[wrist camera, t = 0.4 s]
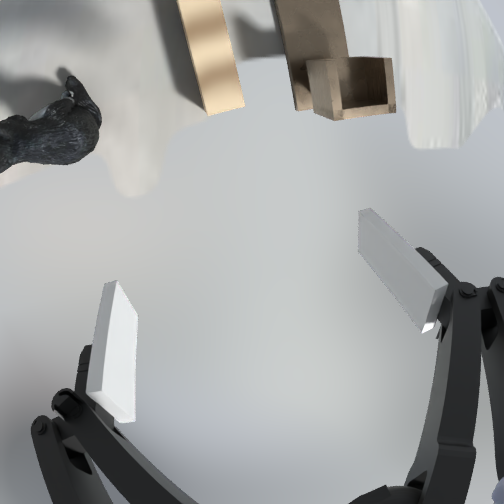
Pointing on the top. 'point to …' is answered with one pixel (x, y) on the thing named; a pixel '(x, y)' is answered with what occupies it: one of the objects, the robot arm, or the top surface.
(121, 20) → the top surface
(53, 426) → the robot arm
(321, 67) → the bracket
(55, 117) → the figurine
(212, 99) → the rail
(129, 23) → the top surface
